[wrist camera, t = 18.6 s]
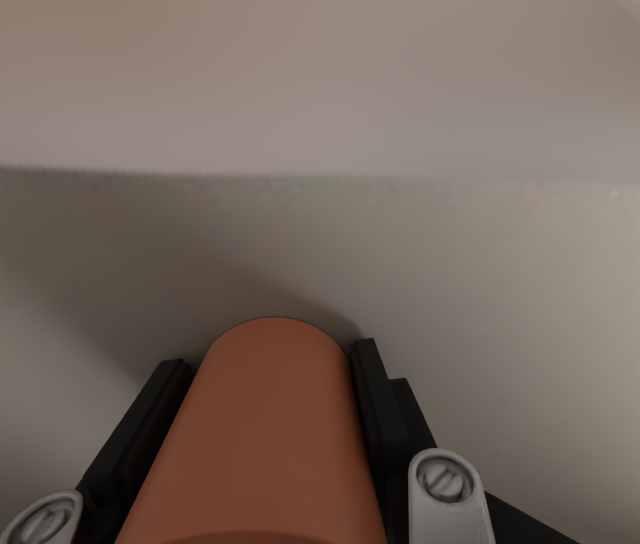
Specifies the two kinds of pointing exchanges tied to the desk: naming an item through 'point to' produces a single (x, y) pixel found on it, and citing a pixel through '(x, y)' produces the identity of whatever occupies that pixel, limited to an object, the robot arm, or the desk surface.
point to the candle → (263, 448)
